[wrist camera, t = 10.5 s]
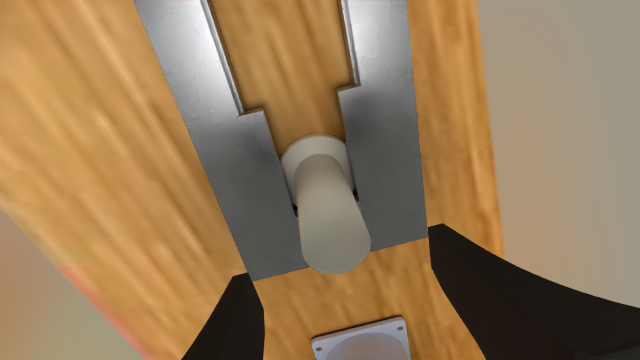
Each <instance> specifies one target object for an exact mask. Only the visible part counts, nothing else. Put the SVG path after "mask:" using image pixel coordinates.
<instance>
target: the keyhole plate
mask: <svg viewBox="0 0 640 360" xmlns="http://www.w3.org/2000/svg"><path fill="white" fill-rule="evenodd" d="M133 1H134V4H135V6H136V8H137V11H138V13H139V16H140V18H141V20H142V23H143V25H144V27H145V30H146V32H147V35H148V37H149V39H150V42H151V44H152V46H153V49H154V51H155V54H156V56H157V58H158V61H159V63H160V65H161V68H162V70H163V73H164V75H165V77H166V80H167V82H168V84H169V87H170V89H171V92H172V94H173V96H174V99H175V101H176V103H177V106H178V108H179V110H180V113H181V115H182V118H183V120H184V122H185V125H186V127H187V129H188V132H189V134H190V137H191V139H192V141H193V144H194V146H195V148H196V151H197V153H198V156H199V158H200V160H201V163H202V165H203V167H204V170H205V172H206V175H207V177H208V179H209V182H210V184H211V186H212V189H213V191H214V194H215V196H216V198H217V201H218V203H219V205H220V208H221V210H222V213H223V215H224V217H225V220H226V222H227V224H228V227H229V229H230V232H231V234H232V236H233V239H234V241H235V243H236V246H237V248H238V251H239V253H240V255H241V258H242V260H243V262H244V265H245V267H246V269H247V272H248V273H249V275H250V278H251V280H252V281H256V280H260V279H264V278H268V277H272V276H276V275H280V274H284V273H288V272H292V271H296V270H300V269H304V268H308V267H310V266H309V265H308V264H307V263H306V261H305V260H304V258H303V255H302V249H301V238H300V228H299V217H298V210H294V206H293V203H292V200H291V196H290V193H289V190H288V187H287V183H286V180H285V177H284V173H283V170H282V167H281V163H280V160H279V157H278V154H277V150H276V147H275V144H274V140H273V137H272V134H271V130H270V127H269V124H268V121H267V117H266V114H265V111H264V107H261V108H257V109H253V110H249V111H247V109H246V106H245V103H244V100H243V97H242V94H241V91H240V88H239V85H238V82H237V78H236V75H235V72H234V69H233V66H232V63H231V60H230V57H229V54H228V51H227V48H226V45H225V42H224V39H223V36H222V33H221V30H220V27H219V23H218V20H217V17H216V14H215V11H214V8H213V5H212V2H211V0H133ZM337 4H338V10H339V16H340V21H341V27H342V33H343V38H344V44H345V50H346V55H347V61H348V67H349V73H350V78H351V84H352V85H349V86H345V87H341V88H337V89H336V94H337V99H338V104H339V109H340V114H341V119H342V124H343V129H344V134H345V139H346V144H347V149H348V154H349V159H350V164H351V169H352V174H353V179H354V184H355V189H356V195H354V198H355V201H356V203H357V206H358V208H359V211H360V213H361V215H362V218H363V220H364V223H365V225H366V228H367V230H368V232H369V235H370V239H371V247H370V251H369V252H371V251H375V250H379V249H383V248H387V247H391V246H395V245H399V244H403V243H407V242H411V241H415V240H419V239H423V238H427V237H428V232H427V221H426V210H425V199H424V188H423V177H422V166H421V155H420V144H419V133H418V122H417V111H416V100H415V89H414V78H413V67H412V56H411V46H410V35H409V24H408V13H407V2H406V0H337Z"/></svg>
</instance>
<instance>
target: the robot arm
mask: <svg viewBox="0 0 640 360" xmlns="http://www.w3.org/2000/svg"><path fill="white" fill-rule="evenodd" d="M428 236H429V247H430V258H431V267H432V269H433V271H434V274H435V276H436V278H437V280H438V282H439V284H440V286H441V288H442V290H443V291H444V293H445V295H446V296H447V298H448V299H449V301H450V302H451V304H452V305H453V307H454V308H455V310H456V312H457V313H458V315H459V316H460V318H461V319H462V321H463V322H464V324H465V325H466V327H467V328H468V330H469V331H470V333H471V334H472V336H473V338H474V339H475V341H476V342H477V344H478V346H479V347H480V349H481V351H482V353H483V354H484V356H485V358H486V360H640V308H637V307H633V306H629V305H625V304H621V303H617V302H613V301H610V300H607V299H603V298H600V297H596V296H593V295H590V294H586V293H583V292H580V291H577V290H574V289H571V288H568V287H565V286H563V285H560V284H557V283H555V282H552V281H550V280H547V279H545V278H542V277H540V276H538V275H535V274H533V273H531V272H528V271H526V270H524V269H522V268H519V267H517V266H515V265H513V264H511V263H509V262H507V261H505V260H504V259H502V258H500V257H498V256H496V255H494V254H492V253H490V252H489V251H487V250H485V249H484V248H482V247H480V246H478V245H477V244H475V243H473V242H472V241H470V240H469V239H467V238H465V237H464V236H462V235H461V234H459V233H457V232H456V231H454V230H453V229H451V228H450V227H448V226H446V225H445V224H443V223H442V224H438V225H434V226H430V227H428ZM264 339H265V326H264V309H263V306H262V304H261V301H260V299H259V297H258V294H257V292H256V290H255V287H254V285H253V282H252V280H251V278H250V275H249V273H244V274H240V275H236V276H233V277H232V279H231V280H230V282H229V284H228V286H227V288H226V289H225V291H224V293H223V295H222V297H221V298H220V300H219V302H218V304H217V305H216V307H215V309H214V311H213V312H212V314H211V316H210V317H209V319H208V321H207V322H206V324H205V326H204V327H203V329H202V330H201V332H200V333H199V335H198V336H197V338H196V339H195V341H194V342H193V344H192V345H191V347H190V348H189V350H188V351H187V352H186V354H185V355H184V356H183V358H182V359H181V360H263V352H264ZM311 345H312V349H313V351H314V354H315V357H316V360H411V356H410V350H409V343H408V336H407V330H406V323H405V320H404V318H402V317H396V318H392V319H388V320H384V321H380V322H376V323H372V324H368V325H364V326H360V327H356V328H352V329H348V330H344V331H340V332H336V333H332V334H328V335H325V336H321V337H317V338H314V339H313V340H312V341H311Z"/></svg>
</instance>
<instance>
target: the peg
mask: <svg viewBox="0 0 640 360" xmlns="http://www.w3.org/2000/svg"><path fill="white" fill-rule="evenodd" d="M280 163H281V167H282V170H283V173H284V177H285V180H286V183H287V187H288V190H289V193H290V196H291V200H292V203H293V204H294V205H295V206H297V207H298V217H299V228H300V238H301V249H302V255H303V258H304V260H305V261H306V263H307V264H308V265H309V266H310V267H311V268H313V269H314V270H316V271H319V272H321V273H325V274H340V273H344V272H347V271H350V270H352V269H354V268H356V267H357V266H358V265H360V264H361V263H362V262H363V261H364V260H365V258H366V257H367V255H368V253H369V251H370V247H371V239H370V235H369V232H368V230H367V228H366V225H365V223H364V220H363V218H362V215H361V213H360V211H359V208H358V206H357V203H356V201H355V198H354V196H353V194H352V193H353V191H354V190H355V184H354V179H353V174H352V169H351V164H350V159H349V154H348V149H347V144H346V143H345V142H344V141H342V140H341V139H339V138H338V137H336V136H333V135H330V134H326V133H312V134H307V135H304V136H302V137H300V138H298V139H296V140H295V141H293V142H292V143H291V144H290V145H289V146H288V147H287V148H286V149H285V151H284V152H283V154H282V156H281V158H280Z"/></svg>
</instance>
